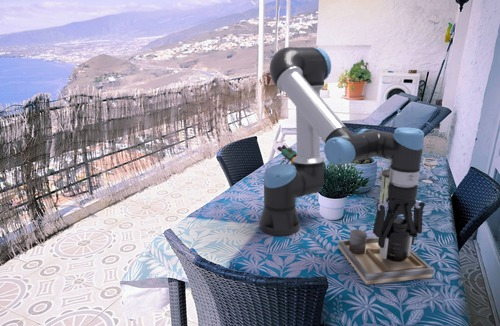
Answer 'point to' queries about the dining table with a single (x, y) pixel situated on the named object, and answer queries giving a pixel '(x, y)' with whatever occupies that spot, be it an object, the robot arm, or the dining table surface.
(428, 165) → the wineglass
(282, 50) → the robot arm
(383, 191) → the coffee can
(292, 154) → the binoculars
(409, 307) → the dining table surface
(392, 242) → the supplement bottle
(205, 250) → the dining table surface
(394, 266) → the board
